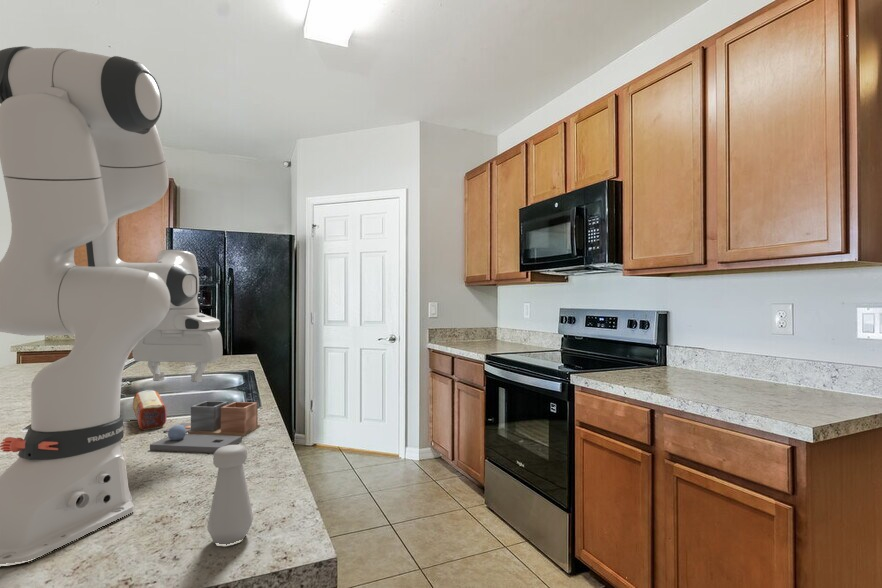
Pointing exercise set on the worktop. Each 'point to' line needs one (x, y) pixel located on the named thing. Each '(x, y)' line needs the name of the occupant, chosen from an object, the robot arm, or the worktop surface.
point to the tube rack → (224, 418)
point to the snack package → (149, 410)
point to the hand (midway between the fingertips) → (177, 381)
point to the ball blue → (176, 433)
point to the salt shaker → (230, 497)
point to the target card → (185, 425)
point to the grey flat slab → (196, 443)
